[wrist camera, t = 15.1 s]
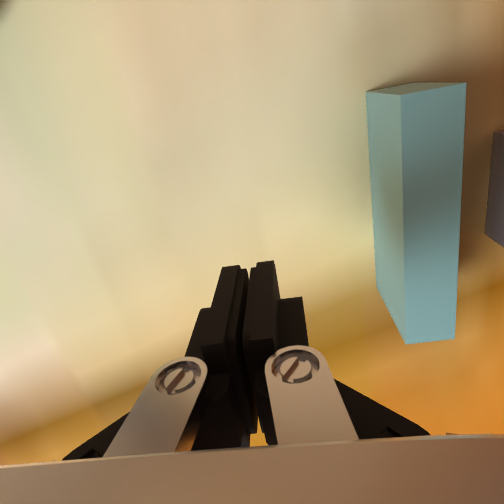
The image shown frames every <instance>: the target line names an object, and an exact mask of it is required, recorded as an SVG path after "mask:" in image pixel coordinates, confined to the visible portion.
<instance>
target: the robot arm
mask: <svg viewBox="0 0 504 504" xmlns="http://www.w3.org/2000/svg"><path fill="white" fill-rule="evenodd" d="M258 417H259V422H260V426H261V430H262V433H264V434H265V438H266V443H267V444H268V446H254V447H249V446H250V434H255V433H257V424H258ZM0 504H504V434H452V433H446V435H430V434H429V433H428V432H427V431H426V430H424V429H423V428H422V427H420V426H419V425H417V424H415V423H414V422H412V421H410V420H408V419H406V418H405V417H403V416H401V415H399V414H397V413H395V412H394V411H392V410H390V409H388V408H386V407H384V406H383V405H381V404H379V403H377V402H375V401H374V400H372V399H370V398H368V397H366V396H364V395H363V394H361V393H359V392H357V391H355V390H353V389H352V388H350V387H348V386H346V385H344V384H343V383H341V382H339V381H337V380H335V379H333V376H332V374H331V371H330V369H329V367H328V364H327V362H326V359H325V358H324V356H323V355H322V354H321V353H320V352H319V351H317V350H316V349H314V348H311V347H309V344H308V336H307V329H306V322H305V314H304V307H303V300H302V297H295V298H286V299H280V293H279V287H278V281H277V275H276V269H275V264H274V260H273V261H265V262H258V263H257V265H256V267H254V268H251V271H250V279H249V277H248V272H247V269H241V268H240V265H235V266H228V267H222V270H221V273H220V277H219V280H218V284H217V287H216V291H215V294H214V298H213V301H212V305H211V308H202V309H201V310H200V312H199V315H198V318H197V321H196V324H195V327H194V330H193V333H192V336H191V339H190V342H189V345H188V348H187V351H186V354H185V357H180V358H177V359H174V360H171V361H169V362H167V363H165V364H164V365H162V366H161V367H160V368H158V369H157V370H156V371H155V373H154V374H153V375H152V376H151V378H150V380H149V381H148V383H147V385H146V386H145V388H144V390H143V391H142V393H141V395H140V396H139V398H138V400H137V401H136V403H135V404H134V406H133V408H132V409H131V411H130V412H129V413H127V414H126V415H124V416H123V417H121V418H120V419H118V420H117V421H115V422H114V423H113V424H111V425H110V426H108V427H107V428H105V429H104V430H102V431H101V432H99V433H98V434H96V435H95V436H94V437H92V438H91V439H89V440H88V441H86V442H85V443H83V444H82V445H80V446H79V447H77V448H76V449H75V450H73V451H72V452H71V453H69V454H68V455H67V456H66V457H65V458H63V460H62V461H51V462H39V463H26V464H14V465H2V466H0Z"/></svg>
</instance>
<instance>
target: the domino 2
mask: <svg viewBox="0 0 504 504" xmlns="http://www.w3.org/2000/svg"><path fill="white" fill-rule="evenodd" d="M485 234H486V235H487V236H489V237H490V238H491V239H493V240H494V241H496V242H497V243H498V244H500V245H501V246H503V247H504V130H503V131H497V132H494V133H493V144H492V156H491V168H490V179H489V191H488V202H487V214H486V226H485Z"/></svg>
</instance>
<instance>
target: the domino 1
mask: <svg viewBox="0 0 504 504" xmlns="http://www.w3.org/2000/svg"><path fill="white" fill-rule="evenodd" d="M466 85H467V82H456V83H408V84H403V85H398V86H393V87H388V88H383V89H377V90H372V91H367V92H366V105H367V123H368V141H369V159H370V177H371V194H372V212H373V230H374V248H375V266H376V284H377V289H378V291H379V293H380V294H381V296H382V298H383V300H384V302H385V304H386V306H387V308H388V310H389V312H390V314H391V316H392V318H393V320H394V322H395V324H396V326H397V328H398V330H399V332H400V334H401V336H402V338H403V340H404V342H405V344H413V343H422V342H431V341H440V340H448V339H455V322H456V301H457V279H458V258H459V236H460V214H461V193H462V171H463V150H464V128H465V107H466Z"/></svg>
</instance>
